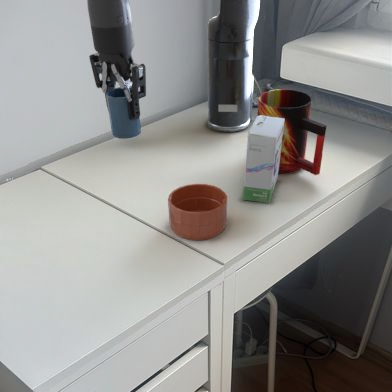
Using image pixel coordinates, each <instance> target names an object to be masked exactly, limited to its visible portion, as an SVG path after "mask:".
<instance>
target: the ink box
mask: <svg viewBox="0 0 392 392" xmlns="http://www.w3.org/2000/svg"><path fill="white" fill-rule="evenodd" d="M284 121H285V119H284V118H276V117H268V116H258V115H257V116H256V117H255V119H254V122H253V123H252V125H251V127H249V130H248V134H247V144H246V156H245V157H246V158H245V167H244V168H245V169H244V181H243V194H242V200H243V201H249V202H258V203H265V204H266V203H267V204H269V203H271V202H270V201H271V199H272V197H273V193H274V190H275V187H276V184H277V181H278V179H279V178H278V177H279V174H278V171H279V163H280V154H281V146H282V138H283V130H284Z"/></svg>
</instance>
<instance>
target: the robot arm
mask: <svg viewBox="0 0 392 392" xmlns="http://www.w3.org/2000/svg"><path fill="white" fill-rule="evenodd" d="M86 4H87V11H88V12H87V13H88V18H89V24H90V31H91V36H92V42H93V48H94V51H95V52H96V53H92V54H90V55H89V63H90V66H91V70H92V74H93V79H94V83H95V86H96V88H97V89H101V91H102V93H103V94H104V98H105V103H106V107H107V109H108V105H107V99H106V92H107V91H109V90H111V89H114V88H116V84H117V83H118V86H119V87H120V88H121V89H122V90H124V92H125V95H126V97H127V100H128V101H127V104H128V111H129V119H130V120H133V121H134V120H136V119H138V118H140V117H141V108H140V99H143V98H145V97H147V75H146V74H147V73H146V72H147V71H146V70H147V69H146V65H145V64H144V63H140V64H138V63H136V62H135V60H134V58H133V55H132V51H133V49H134V48H135V38H134V30H133V20H132V11H131V2H130V0H86ZM260 4H261V0H220V1H219V12H218V14H217V15H216V16H213V17H212V18H210V19H209V20H208V22H207V31H206V32H207V33H206V34H207V36H206V37H207V126H208V127H209V128H211V129H212V130H214V131H218V132H224V133H225V132H226V133H230V132H232V133H233V132H238V131H242V130H245V129H246V128H248V127H249V126H250V122H252V120H253V119H252V116H253V107H258V102H255V100H254V99H253V98H254V79H255V77H254V75H253V74H252V71H253V52H254V50H253V49H254V31H255V27H256V24H257V22H258V19H259V13H260V6H261V5H260ZM100 74H101V77H100ZM282 80H283V79H281V78H280V76H278V77H275V78H274V79H272V80H270V81H268V83H267V84H266V89H267V90H268V91H272V90H275V89H274V88H273V87H271V86H272V85H274V84H275V83H277V82H279V81H282ZM128 81H129V82H128ZM129 87H130V88H132V94H131V92H130V90H129ZM107 112H108V113H109V111H108V110H107Z"/></svg>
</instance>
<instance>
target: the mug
mask: <svg viewBox="0 0 392 392" xmlns="http://www.w3.org/2000/svg"><path fill="white" fill-rule="evenodd" d="M257 103H258V106H257V116H268V117H276V118H284V119H285V121H284V130H283V138H282V146H281V154H280V163H279V171H278V175H287V174H288V175H289V174H293V173H296V172H299V171H300V170H303V171H305V172H307V173H310V174H312V175H314V176H318V175H320V173H321V167H322V160H323V150H324V144H325V139H326V132H327V125H326V124H324V123H321V122H319V121H315V120H312V119H311V115H312V107H313V106H312V105H313V96H312V95H310V94H308V93H307V92H304V91H302V90H298V89H297V90H296V89H289V88H283V89H282V88H281V89H279V88H278V89H274V90H272V91H269V90H268V91H264V92H262V93H261V94H260V95H259V96H258V102H257ZM309 133H312V134H314V135H316V142H315V147H314V155H313V162H312V161H310V160H308V159H306V152H307V144H308V137H309Z"/></svg>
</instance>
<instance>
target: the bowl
mask: <svg viewBox="0 0 392 392" xmlns="http://www.w3.org/2000/svg"><path fill="white" fill-rule="evenodd" d="M167 207H168V221H169V223H168V224H169V227H170V228H171V231H172V232H173V233H174V234H175V235H176V236H178V237H179V238H181V239H185V240H190V241H205V240H209V239H214V238H216V237H218V236H219V235H221V234H222V233H223V232H224V230H225V228H226V226H227V222H228V220H227V219H228V195H227V193H226V192H225V191H224V190H222V189H221V188H220V187H218V186H215V185H213V184H212V185H211V184H208V183H207V184H206V183H192V184H186V185H182V186H178V188H177V187H176V189H173V190H172V191H171V192H170V193H169V195H168V197H167Z"/></svg>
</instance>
